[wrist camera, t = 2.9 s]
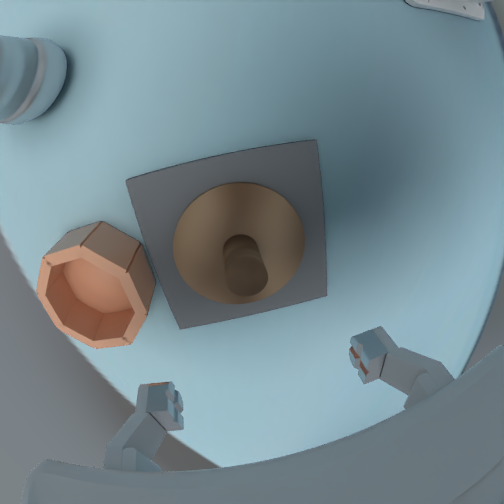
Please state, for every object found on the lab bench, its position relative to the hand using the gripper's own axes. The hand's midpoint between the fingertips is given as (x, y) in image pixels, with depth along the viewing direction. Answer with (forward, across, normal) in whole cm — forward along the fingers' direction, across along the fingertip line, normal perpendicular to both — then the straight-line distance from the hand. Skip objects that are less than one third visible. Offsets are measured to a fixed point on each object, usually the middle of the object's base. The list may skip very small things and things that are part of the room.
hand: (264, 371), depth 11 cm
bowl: (+12, +11, -1) cm, 17 cm away
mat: (+12, 0, -1) cm, 12 cm away
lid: (+12, 0, -1) cm, 12 cm away
